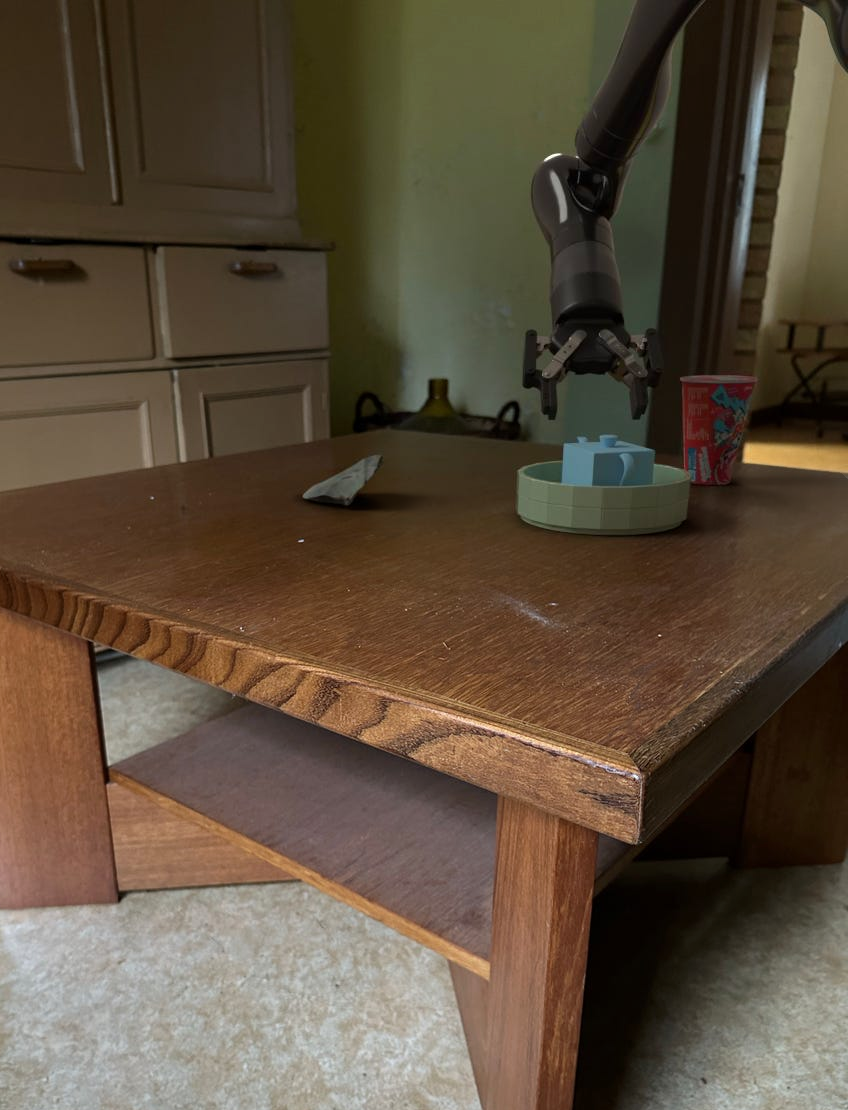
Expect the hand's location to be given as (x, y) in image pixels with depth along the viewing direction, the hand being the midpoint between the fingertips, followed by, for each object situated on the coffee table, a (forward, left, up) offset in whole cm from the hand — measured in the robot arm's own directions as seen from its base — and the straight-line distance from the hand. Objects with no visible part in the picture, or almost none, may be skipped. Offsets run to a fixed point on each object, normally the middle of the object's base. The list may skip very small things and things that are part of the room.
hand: (595, 414), depth 93 cm
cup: (-16, -15, -10) cm, 24 cm away
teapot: (0, +5, -9) cm, 10 cm away
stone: (+27, -3, -10) cm, 29 cm away
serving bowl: (0, +6, -9) cm, 11 cm away
